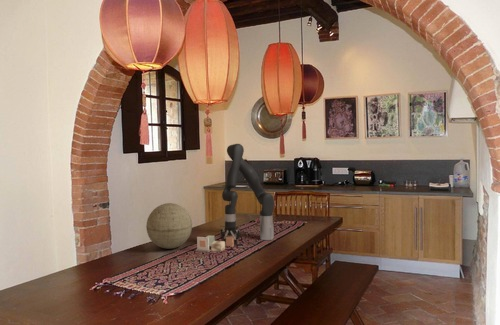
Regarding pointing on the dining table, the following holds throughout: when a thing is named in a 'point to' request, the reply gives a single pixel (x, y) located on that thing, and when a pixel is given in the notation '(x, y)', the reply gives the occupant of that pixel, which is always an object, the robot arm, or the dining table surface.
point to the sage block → (211, 239)
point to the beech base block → (218, 246)
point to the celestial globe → (169, 225)
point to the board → (203, 244)
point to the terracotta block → (230, 241)
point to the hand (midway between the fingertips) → (230, 244)
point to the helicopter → (236, 228)
